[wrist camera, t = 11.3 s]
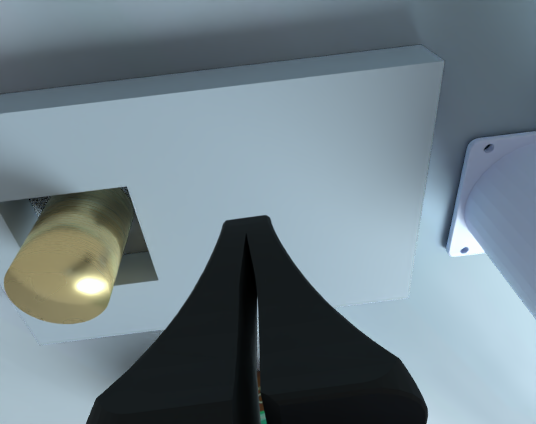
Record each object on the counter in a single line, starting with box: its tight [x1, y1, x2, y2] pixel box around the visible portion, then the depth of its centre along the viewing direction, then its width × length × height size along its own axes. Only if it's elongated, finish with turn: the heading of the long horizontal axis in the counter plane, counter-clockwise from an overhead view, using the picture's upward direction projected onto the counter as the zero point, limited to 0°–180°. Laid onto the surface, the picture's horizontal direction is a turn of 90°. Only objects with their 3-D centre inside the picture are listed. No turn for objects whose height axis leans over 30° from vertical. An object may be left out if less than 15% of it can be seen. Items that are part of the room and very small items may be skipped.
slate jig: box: [0, 45, 445, 345], centre depth 22 cm, size 22×14×2 cm, turn 95°
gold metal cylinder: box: [4, 187, 134, 324], centre depth 20 cm, size 4×4×6 cm
